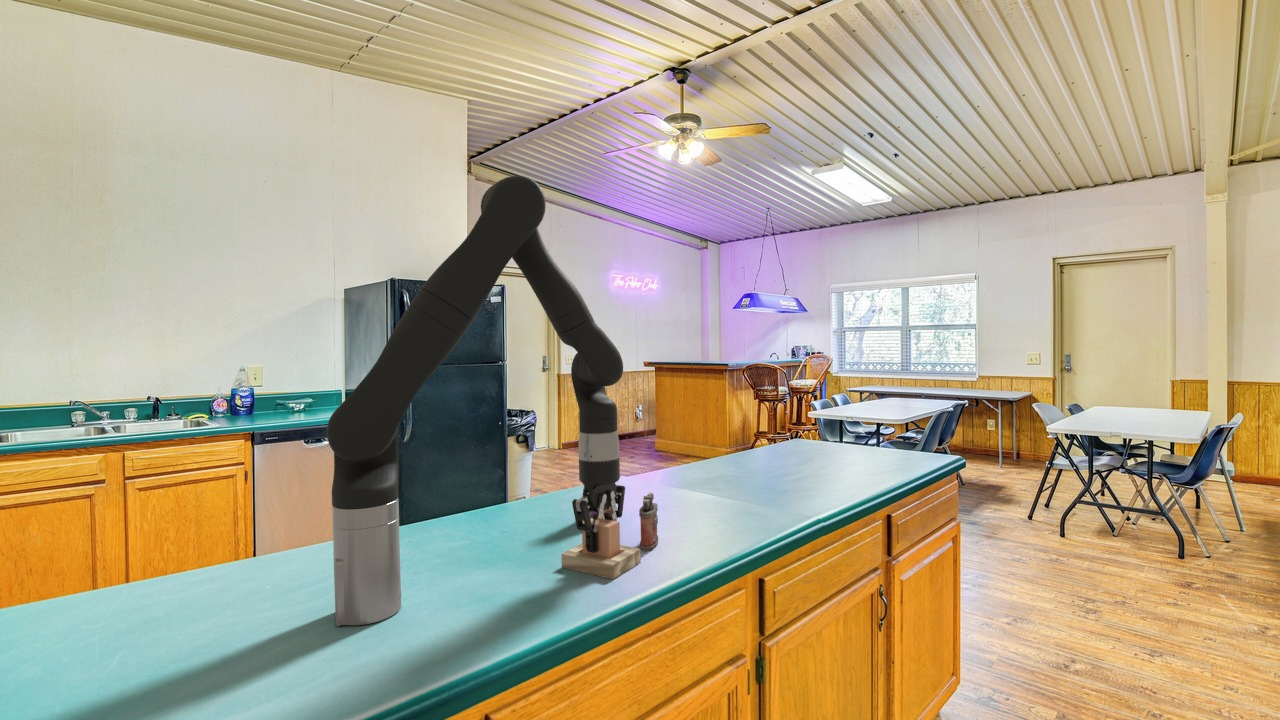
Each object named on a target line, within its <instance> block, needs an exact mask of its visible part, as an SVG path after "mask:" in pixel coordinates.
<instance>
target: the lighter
mask: <svg viewBox="0 0 1280 720" xmlns="http://www.w3.org/2000/svg"><path fill="white" fill-rule="evenodd" d="M654 499H655V497H654V493H653V492H648V493H647V495H644V496H643V500H642V506H641V507H640V508H639V513H638V514H639V515H638V516H639V519H640V542H639V549H640V552H641V551H642V552H653V550H655V549H656V548H657V547H658V544H659V534H658V523H659V517H658V515H657V514H658V508H659V507H658V503H655V502H653V501H654Z"/></svg>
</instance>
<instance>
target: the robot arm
mask: <svg viewBox="0 0 1280 720" xmlns="http://www.w3.org/2000/svg"><path fill="white" fill-rule="evenodd" d="M542 189H543V188H541V186H540V185H539V184H538V183H537V181H535V180H533V179H532V178H529V177H526V176H523V175H512V176H507V177H505V178H502V179H500V180H498V181H496V183H493V185H491V186H489V188H488V189H487V190H486V191H485V192H484V194H483V196H482V198H481V201H480V213H481V214H480V215H479V217H478V219H477V220H476V223H475V224H474V226H473V228H472V229H471V230H470V232H469V234H467V236H466V237H465V239H464V240H463V241H462V242H461V244H460V245H458V247H457V248H456V249H455V250H454V251H453V252H452V253H451V254H450V255H449V256H448V257H447V258H446V259H445V260H444V261H442V263H441V264H440V265H439V266H438V267H437V268H436V269H435V270H434V272H433V273H432V274H431V275H430V276H429V278H428V279H427V280H426V281H425V282H424V284H423V285H422V286H421V287H420V289H419V291H417V293H416V295H415V296H414V298H413V299H412V301H411V302H410V303H409V305H408V306H407V308H406V309H405V311H404V313H403V314H402V316H401V318H399V320H398V322H397V324H396V326H395V328H394V329H393V331H392V333H391V335H390V336H389V338H388V340H387V342H386V344H385V346H384V347H383V350H382V352H381V354H380V355H379V356H378V358H377V360H376V362H375V363H374V365H373V366H372V367H371V369H370V370H369V372H368V373H367V374H366V375H365V376H364V378H363V379H362V380H361V381H360V382H359V384H358V385H357V386H356V387H355V388H354V389H353V391H352V392H351V393H350V394H349V395H348V396H347V397H346V399H345V400H344V401H343V402H342V403H341V404H340V405H339V406H338V407H337V408H336V409H335V410H334V411H333V413H332V414H331V415H330V418H329V419H328V421H327V426H326V438H327V442H328V445H329V446H330V448H331V450H332V451H333V477H332V478H333V480H332V486H331V506H332V508H331V509H332V537H333V538H332V541H333V542H332V543H333V552H332V553H333V581H334V583H333V585H334V612H335V613H334V615H335V619H334V620H335V627H341V625H342V626H361V625H369V624H373V623H377V622H381V621H384V620H386V619H389V618H390V617H392V616H394V615H395V614H397V613H398V612H399V611H400V610H401V608H402V582H401V581H402V580H401V578H402V577H401V575H402V574H401V549H400V548H401V546H400V545H401V544H400V543H401V542H400V514H399V513H400V512H399V511H400V509H399V506H400V505H399V431H398V430H399V429H398V428H399V426H400V424H401V422H402V420H403V418H404V416H405V415H406V413H407V410H408V409H409V407H411V404H412V402H413V400H414V399H415V397H416V396H417V394H418V392H419V391H420V389H421V388H422V387H423V386H424V384H425V382H426V381H427V380H428V379H429V378H430V377H431V376H432V375H433V374H434V373H435V371H437V369H438V368H439V367H440V365H441V364H443V363H444V361H445V360H446V359H447V358H448V356H449V354H451V352H452V351H453V350H454V348H455V347H456V345H458V344H459V342H460V340H461V339H462V338H463V336H464V335H465V333H466V332H467V330H468V329H469V327H470V326H471V324H472V323H473V321H474V320H475V318H476V317H477V315H478V313H479V311H480V310H481V308H482V306H483V305H484V303H485V301H486V300H487V298H488V296H489V295H490V293H491V292H492V290H493V289H494V286H495V285H496V283H497V281H498V279H499V278H500V276H501V274H502V273H503V271H504V269H505V267H506V266H507V264H508V263H509V262H510V261H511V260H513V262H515V264H516V265H517V267H518V268H519V270H520V271H521V273H522V274H523V275H524V277H525V279H526V281H527V282H528V285H530V287H531V289H532V291H533V293H534V294H535V296H536V297H537V300H538V302H539V304H541V307H542V309H543V310H544V312H545V315H546V316H547V318H548V319H549V322H550V324H551V326H552V327H553V328H554V330H555V332H556V334H557V336H558V337H559V339H560V340H561V342H562V343H563V344H565V345H567V346H568V347H571V348H573V349H574V350H575V351H576V352H577V353H576V354H575V355H574V357H573V359H572V363H571V367H570V368H571V369H570V374H571V381H572V382H571V383H572V388H573V390H574V395H575V399H576V403H577V406H578V411H579V413H578V415H579V416H578V420H579V421H578V423H579V424H578V425H579V429H578V430H579V438H578V477H579V478H578V479H579V482H580V483H581V484H582V485H583V489H584V491H583V490H582V496H581V497H580V498H578V499H577V498H576V499H575V498H574V499H572V502H571V504H572V510H573V514H574V519H575V525H576V529H577V530H578V531H581V532H582V531H585V534H586V549H587V551H588V552H592V553H596V552H598V532H597V531H598V525H599V520H600V519H602V517H603V519H605V520H611V521H617V522H618V519H619V518H620V519H621V518H622V516H623V511H624V502H625V492H626V486H625V485H620V484H616V483H618V482H619V480H620V477H621V473H620V472H621V471H620V469H621V468H620V467H621V466H620V465H621V464H620V462H621V459H620V439H619V433H618V431H619V430H618V409H617V404H616V402H615V401H614V400H612V399H611V398H609V397H608V395H607V390H606V387H610V386H614V385H615V384H617V383H618V382H619V381H620V380H621V378H622V376H623V373H624V362H623V358H622V356H621V353H620V352H619V350H618V348H617V347H616V345H615V344H614V343H613V341H612V340H611V339H610V338H609V336H608V335H607V333H605V332H604V330H603V329H602V328H601V327H600V326H599V325H598V324H597V322H595V319H594V317H593V315H592V313H591V311H590V309H589V308H588V306H587V303H586V301H585V300H584V298H583V296H582V294H581V292H580V291H579V289H578V288H577V287H576V285H575V283H574V282H573V281H572V280H571V278H570V276H568V274H567V273H566V272H565V271H564V269H563V268H562V267H561V266H560V265H559V264H558V262H557V260H555V259H554V257H553V255H552V254H551V252H550V251H549V249H548V247H547V245H546V243H545V242H544V240H543V238H542V236H541V233H540V231H539V228H538V227H539V226H540V224H542V221H543V220H544V217H545V214H546V207H547V205H546V203H547V202H546V197H545V194H544V191H543V190H542ZM590 511H592V512H597V513H596V514H591V513H590ZM591 518H593V525H591V520H590V519H591ZM582 520H584V524H583V523H582V522H583V521H582Z"/></svg>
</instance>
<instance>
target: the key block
mask: <svg viewBox="0 0 1280 720" xmlns="http://www.w3.org/2000/svg"><path fill="white" fill-rule="evenodd" d="M590 520H591V525H593V518H591V519H590ZM582 523H583V524H584V522H583V521H582ZM620 526H621V525H620V521H618V520H617V521H611V520H605V519H600V520H599V525H598V531H597V532H598V552H596V553H592V552H588V551H587V549H586V534H585V531H581V532H582V533H581V535H582V537H581V539H582V541H581V544H582V543H583V554H588V555H593V556H597V557H602V558H607V559H612V558H613V557H615V556H617V555H619V554H620V545H621V537H620V535H621V534H620V533H621V531H620V529H621V527H620Z"/></svg>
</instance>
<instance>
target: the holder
mask: <svg viewBox="0 0 1280 720" xmlns="http://www.w3.org/2000/svg"><path fill="white" fill-rule="evenodd" d="M641 556H642V555H641V550H640V548H638V547H637V548H636V547H632V546H627V545H622V544H620V554H619V555H617V556H615V557H613V558H612V559H607V558H602V557H597V556H593V555H588V554H583V543H582V542H581V544H579V545H577V546H574V547H573V548H571V549H569V550H566V551H564V552H562V553H561V568H563V569H568V570H572V571H577V572H581V573H584V574H590V575H595V576H598V577H603V578H606V579H611V580H616V579H617V578H618V577H619V576H621V575H624V574H625V573H626V572H627V571H629V570H631V569H633V568H634V567H636V566H637V565H639V564H640V563H641V558H642V557H641Z"/></svg>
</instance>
